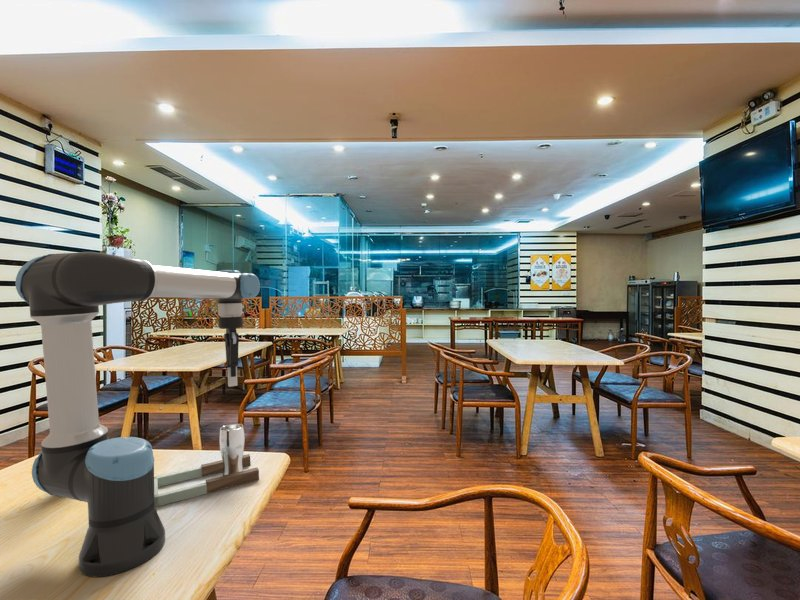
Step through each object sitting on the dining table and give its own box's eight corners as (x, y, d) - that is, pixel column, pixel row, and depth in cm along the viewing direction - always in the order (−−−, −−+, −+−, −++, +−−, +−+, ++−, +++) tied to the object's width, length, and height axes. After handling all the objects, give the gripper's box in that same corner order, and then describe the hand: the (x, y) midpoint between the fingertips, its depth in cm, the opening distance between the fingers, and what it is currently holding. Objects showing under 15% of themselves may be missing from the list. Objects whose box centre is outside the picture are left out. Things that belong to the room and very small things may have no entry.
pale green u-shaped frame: (206, 493, 110) (206, 484, 110) (151, 507, 103) (151, 498, 103) (201, 474, 122) (201, 466, 122) (151, 486, 115) (151, 477, 115)
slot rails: (259, 479, 117) (258, 469, 117) (206, 493, 110) (206, 482, 110) (249, 463, 129) (248, 454, 129) (201, 474, 122) (201, 464, 122)
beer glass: (249, 471, 123) (248, 423, 123) (238, 481, 116) (236, 431, 116) (228, 470, 124) (226, 423, 124) (215, 481, 117) (214, 431, 117)
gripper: (246, 316, 130) (248, 387, 130) (238, 314, 141) (240, 380, 142) (221, 317, 126) (223, 391, 126) (215, 315, 137) (217, 383, 138)
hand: (232, 385), depth 134 cm, fingers closed
